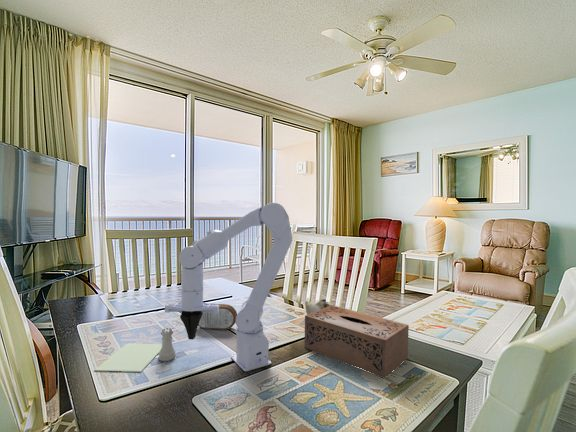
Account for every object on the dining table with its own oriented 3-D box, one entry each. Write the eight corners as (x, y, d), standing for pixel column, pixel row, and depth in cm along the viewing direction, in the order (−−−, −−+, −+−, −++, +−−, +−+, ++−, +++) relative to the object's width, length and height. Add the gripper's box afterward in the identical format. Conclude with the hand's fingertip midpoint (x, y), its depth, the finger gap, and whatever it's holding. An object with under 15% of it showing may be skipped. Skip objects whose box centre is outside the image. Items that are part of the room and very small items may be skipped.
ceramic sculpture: (307, 293, 125) (345, 297, 123) (305, 315, 126) (344, 319, 123) (304, 301, 115) (346, 306, 113) (302, 325, 115) (344, 330, 113)
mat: (166, 345, 97) (166, 344, 97) (141, 372, 81) (141, 371, 81) (127, 344, 98) (127, 343, 98) (94, 371, 82) (94, 370, 82)
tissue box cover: (304, 348, 97) (304, 315, 97) (331, 334, 108) (332, 305, 107) (384, 380, 80) (385, 340, 79) (407, 360, 90) (408, 324, 90)
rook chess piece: (170, 352, 92) (170, 325, 92) (178, 357, 90) (178, 329, 89) (155, 358, 89) (155, 329, 89) (163, 363, 86) (163, 334, 86)
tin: (237, 327, 112) (237, 304, 112) (235, 331, 109) (235, 306, 109) (195, 325, 114) (196, 302, 113) (192, 329, 110) (192, 304, 110)
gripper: (221, 286, 92) (221, 332, 93) (171, 285, 93) (171, 331, 93) (215, 292, 85) (215, 343, 86) (161, 291, 86) (161, 341, 86)
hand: (192, 337), depth 89 cm, fingers closed
